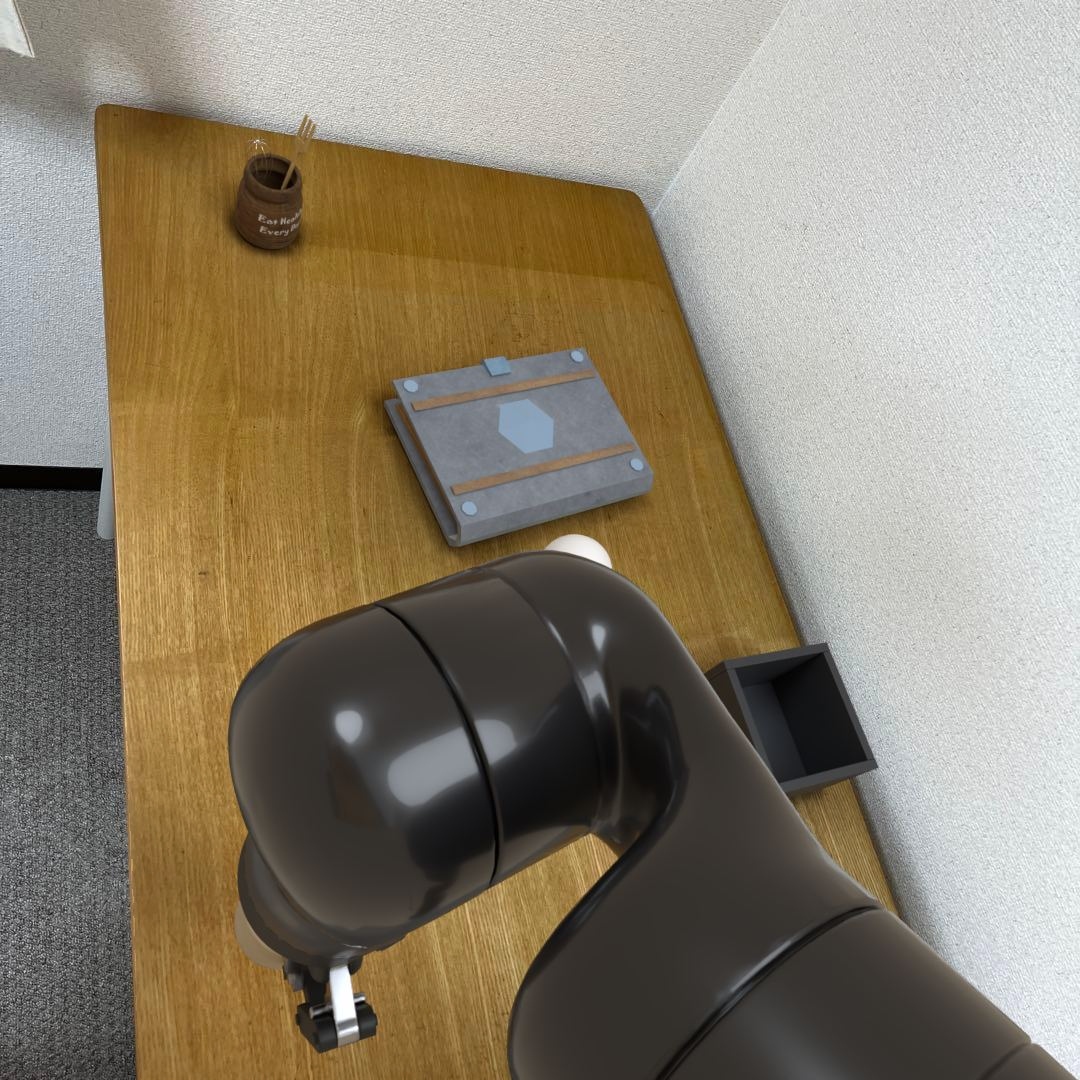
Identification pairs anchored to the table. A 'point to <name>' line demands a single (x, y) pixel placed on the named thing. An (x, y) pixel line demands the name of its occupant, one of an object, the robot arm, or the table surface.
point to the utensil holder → (272, 195)
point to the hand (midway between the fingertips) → (294, 907)
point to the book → (516, 443)
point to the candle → (254, 943)
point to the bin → (795, 716)
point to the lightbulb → (581, 548)
